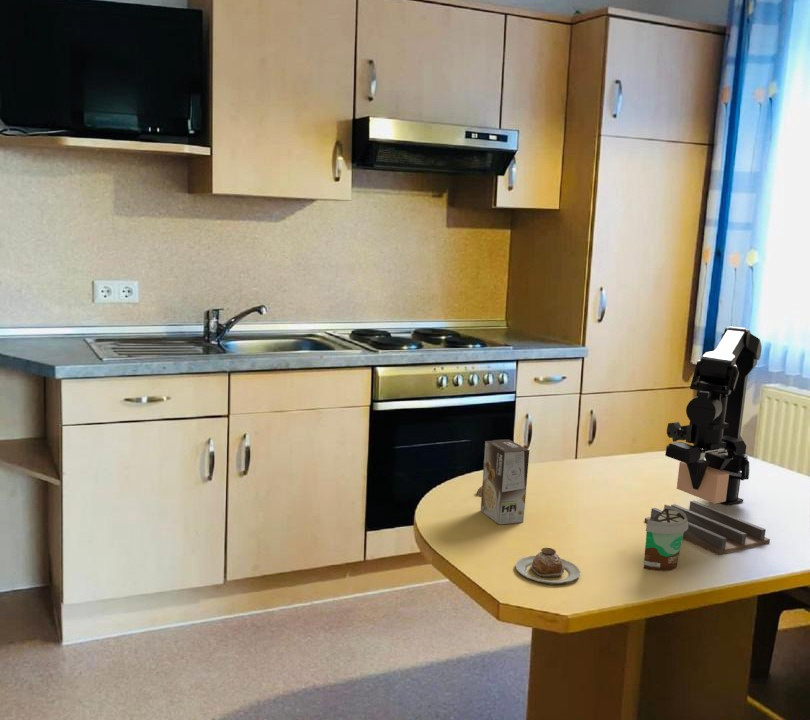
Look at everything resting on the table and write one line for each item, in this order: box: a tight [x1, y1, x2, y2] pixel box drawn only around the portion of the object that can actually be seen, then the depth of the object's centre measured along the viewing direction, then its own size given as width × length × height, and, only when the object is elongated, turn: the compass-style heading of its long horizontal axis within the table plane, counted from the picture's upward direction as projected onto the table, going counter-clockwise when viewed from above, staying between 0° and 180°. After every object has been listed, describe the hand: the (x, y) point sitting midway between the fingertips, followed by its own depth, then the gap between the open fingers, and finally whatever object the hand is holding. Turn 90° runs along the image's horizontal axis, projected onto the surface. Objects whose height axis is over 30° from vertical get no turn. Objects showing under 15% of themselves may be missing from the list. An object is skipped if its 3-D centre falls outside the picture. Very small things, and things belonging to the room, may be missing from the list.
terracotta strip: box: [676, 461, 729, 504], centre depth 186 cm, size 4×10×6 cm, turn 32°
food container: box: [643, 504, 688, 572], centre depth 170 cm, size 12×6×10 cm, turn 148°
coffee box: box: [480, 439, 530, 525], centre depth 190 cm, size 9×6×16 cm
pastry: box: [514, 547, 581, 586], centre depth 164 cm, size 12×12×5 cm
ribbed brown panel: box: [644, 500, 771, 556], centre depth 189 cm, size 16×20×3 cm
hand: (701, 487), depth 186 cm, fingers closed on terracotta strip, 3 cm apart
